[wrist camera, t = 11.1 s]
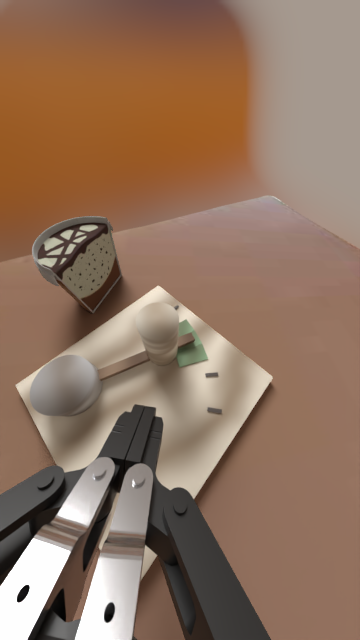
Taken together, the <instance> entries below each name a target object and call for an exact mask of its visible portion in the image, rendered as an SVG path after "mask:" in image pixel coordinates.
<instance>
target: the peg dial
mask: <svg viewBox="0 0 360 640" xmlns="http://www.w3.org/2000/svg"><path fill="white" fill-rule="evenodd" d="M136 326H137V329H138V332H139V334H140V337H141V339H142V342H143V345H144V347H145V350H146V351H143V352H141V353H138V354H136V355H133V356H131V357H128V358H126V359H124V360H121V361H119V362H116V363H114V364H111V365H109V366H106V367H104V368H101V369H98V368H97V367H96V366H94V365H93V364H92V363H90V362H89V361H87V360H86V359H85V358H83V357H81V356H78V355H65V356H61V357H58V358H56V359H54V360H52V361H51V362H49V363H48V364H46V365H45V366H44V367H43V368H42V369H41V370H40V371H39V372H38V374H37V375H36V377H35V378H34V380H33V382H32V385H31V388H30V402H31V404H32V407H33V408H34V409H35V410H36V411H37V412H38V413H40V414H43V415H47V416H67V417H69V416H75V415H78V414H81V413H82V412H84V411H86V410H87V409H88V408H90V407H91V406H92V405H93V404H94V402H95V401H96V400H97V398H98V397H99V395H100V392H101V390H102V384H103V380H106V379H108V378H110V377H113V376H115V375H117V374H120V373H122V372H124V371H127V370H129V369H131V368H134V367H136V366H139V365H141V364H143V363H146V362H148V361H150V360H151V362H153V363H154V364H156V365H160V366H163V365H168V364H170V363H171V362H172V361H174V359H175V358H176V356H177V350H178V349H179V348H181V347H183V346H186V345H188V344H190V343H193V342H194V341H195V338H194V337H193V335H192V333H191V332H190V333H188V334H185V335H183V336H180V337H178V333H179V315H178V313H177V311H176V310H175V309H174V308H173V307H172V306H171V305H169V304H166V303H162V302H155V303H151V304H148V305H146V306H145V307H143V308H142V309H141V310H140V311H139V313H138V314H137V317H136Z"/></svg>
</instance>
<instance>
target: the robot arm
mask: <svg viewBox="0 0 360 640" xmlns="http://www.w3.org/2000/svg"><path fill="white" fill-rule="evenodd" d="M163 426H164V424H163V420H162V417H157V416H156V408H155V407H149V406H144V405H137V404H135V405H134V406H133V408H132V411H131V412H127V411H125V412H124V413H123V414H121V415H120V416H119V417H118V419H117V421H116V423H115V426H114V427H113V429H112V431H111V432H110V434H109V436H108V438H107V440H106V442H105V443H104V445H103V447H102V449H101V451H100V453H99V455H98V456H97V458H96V459H95V460H94V461H93V462H91V463H90V464H89V465H88V466H87V467H85V468H83V469H80V470H75V471H70V472H64V470H63V468H62V467H60V466H50V467H47V468H45V469H43V470H41V471H39V472H38V473H36V474H34V475H33V476H31V477H29V478H28V479H26V480H24V481H23V482H21V483H19V484H18V485H16V486H14V487H13V488H11V489H9V490H8V491H6V492H4V493H2V494H1V495H0V585H1V584H2V583H3V582H4V583H3V584H2V586H1V587H0V640H137V639H136V638H135V637H134V628H135V620H136V613H137V605H138V597H139V589H140V581H141V573H142V566H143V558H144V550H145V545H146V546H147V547H148V548H149V549H151V550H152V551H153V552H154V553H155V554H156V555H158V556H159V560H160V563H161V566H162V569H163V572H164V575H165V579H166V582H167V585H168V588H169V591H170V594H171V597H172V600H173V603H174V606H175V609H176V613H177V616H178V619H179V622H180V625H181V628H182V631H183V634H184V637H185V640H271V639H270V637H269V635H268V633H267V631H266V630H265V628H264V626H263V624H262V622H261V621H260V619H259V617H258V615H257V613H256V611H255V610H254V608H253V606H252V604H251V602H250V601H249V599H248V597H247V595H246V593H245V592H244V590H243V588H242V586H241V584H240V582H239V581H238V579H237V577H236V575H235V573H234V572H233V570H232V568H231V566H230V564H229V563H228V561H227V559H226V557H225V555H224V553H223V552H222V550H221V548H220V546H219V544H218V543H217V541H216V539H215V537H214V535H213V534H212V532H211V530H210V528H209V526H208V524H207V523H206V521H205V519H204V517H203V515H202V514H201V512H200V510H199V508H198V506H197V505H196V503H195V501H194V499H193V497H192V496H191V494H190V493H189V492H188V491H187V490H186V489H184V488H181V487H176V488H173V489H172V490H169V489H168V488H166V487H165V486H163V485H162V484H161V483H160V482H159V481H158V479H157V477H156V468H157V463H158V458H159V452H160V447H161V442H162V434H163ZM117 493H120V495H119V498H118V502H117V505H116V509H115V513H114V516H113V520H112V523H111V527H110V530H109V534H108V537H107V539H106V540H105V542H104V544H103V547H102V549H101V553H100V556H99V559H98V563H97V566H96V570H95V573H94V577H93V580H92V584H91V587H90V590H89V594H88V597H87V601H86V604H85V608H84V611H83V615H82V618H81V619H78V620H75V621H73V618H74V616H75V613H76V610H77V608H78V605H79V602H80V599H81V595H82V592H83V588H84V584H85V580H86V577H87V574H88V572H89V569H90V567H91V564H92V562H93V559H94V557H95V554H96V552H97V549H98V547H99V544H100V542H101V539H102V537H103V534H104V532H105V530H106V527H107V525H108V522H109V520H110V517H111V515H112V512H113V502H114V499H115V497H116V494H117Z"/></svg>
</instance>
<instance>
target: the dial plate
mask: <svg viewBox="0 0 360 640" xmlns="http://www.w3.org/2000/svg"><path fill="white" fill-rule="evenodd" d="M155 302H162V303H166V304H169V305H171V306H172V307H173V308H174V309H175V310H176V311H177V313H178V315H179V333H178V337H180V336H183V335H185V334H188V333H190V332H191V333H192V335H193V337H194V338H195V341H194V342H193V343H190V344H188V345H186V346H183V347H181V348H179V349H178V350H177V356H176V358H175V359H174V361H172V362H171V363H170V364H168V365H163V366H160V365H156V364H154V363H153V362H151V360H150V361H148V362H146V363H143V364H141V365H139V366H136V367H134V368H131V369H129V370H127V371H124V372H122V373H120V374H117V375H115V376H113V377H110V378H108V379H106V380H103V384H102V390H101V392H100V395H99V397H98V398H97V400H96V401H95V402H94V404H93V405H92V406H91V407H90V408H88V409H87V410H86V411H84V412H82V413H81V414H78V415H75V416H69V417H67V416H47V415H43V414H40V413H38V412H37V411H36V410H35V409H34V408H33V407H32V404H31V402H30V388H31V385H32V382H33V380H34V378H35V377H36V375H37V374H38V372H39V371H40V370H41V369H42V368H43V367H44V366H45V365H46V364H45V365H44V366H42V367H41V368H40V369H38V370H37V371H35V372H34V373H32V374H31V375H30V376H28V377H27V378H25V379H24V380H22V381H21V382H20V383H18V384H17V385H16V387H17V389H18V391H19V393H20V395H21V397H22V399H23V401H24V403H25V405H26V407H27V409H28V411H29V413H30V415H31V416H32V418H33V420H34V422H35V424H36V426H37V428H38V430H39V432H40V434H41V436H42V438H43V440H44V442H45V444H46V446H47V447H48V449H49V451H50V453H51V455H52V457H53V459H54V461H55V463H56V465H57V466H60V467H62V468H63V470H64V472H70V471H75V470H80V469H83V468H85V467H87V466H88V465H89V464H90V463H91V462H93V461H94V460H95V459H96V458H97V456H98V455H99V453H100V451H101V449H102V447H103V445H104V443H105V442H106V440H107V438H108V436H109V434H110V432H111V431H112V429H113V427H114V426H115V423H116V421H117V419H118V417H119V416H120V415H121V414H123V413H124V412H125V411H127V412H131V411H132V408H133V406H134V405H135V404H137V405H144V406H149V407H155V408H156V416H157V417H162V420H163V424H164V426H163V434H162V442H161V447H160V452H159V458H158V463H157V468H156V477H157V479H158V481H159V482H160V483H161V484H162V485H163V486H165V487H166V488H168V489H169V490H172V489H173V488H176V487H181V488H184V489H186V490H187V491H188V492H189V493H190V494H191V496H192V497H193V499H194V498H195V497H196V495H197V494H198V492H199V490H200V489H201V487H202V486H203V484H204V483H205V481H206V480H207V478H208V477H209V475H210V474H211V472H212V471H213V469H214V467H215V466H216V464H217V463H218V461H219V460H220V458H221V457H222V455H223V454H224V452H225V451H226V449H227V447H228V446H229V444H230V443H231V441H232V440H233V438H234V437H235V435H236V434H237V432H238V431H239V429H240V428H241V426H242V424H243V423H244V421H245V420H246V418H247V417H248V415H249V414H250V412H251V411H252V409H253V408H254V406H255V404H256V403H257V401H258V400H259V398H260V397H261V395H262V394H263V392H264V391H265V389H266V388H267V386H268V385H269V383H270V381H271V380H272V378H273V377H272V376H271V375H270V374H268V373H267V372H266V371H265V370H263V369H262V368H261V367H260V366H258V365H257V364H256V363H255V362H253V361H252V360H251V359H250V358H248V357H247V356H246V355H245V354H243V353H242V352H241V351H240V350H238V349H237V348H236V347H235V346H233V345H232V344H231V343H230V342H228V341H227V340H226V339H225V338H223V337H222V336H221V335H220V334H218V333H217V332H216V331H215V330H213V329H212V328H211V327H210V326H208V325H207V324H206V323H205V322H203V321H202V320H201V319H200V318H198V317H197V316H196V315H195V314H193V313H192V312H191V311H190V310H188V309H187V308H186V307H185V306H183V305H182V304H181V303H180V302H178V301H177V300H176V299H175V298H173V297H172V296H171V295H170V294H168V293H167V292H166V291H165V290H163V289H162V288H161V287H160V286H157V287H156V288H154V289H153V290H151V291H150V292H149V293H147V294H146V295H144V296H143V297H141V298H140V299H138V300H137V301H136V302H134V303H133V304H131V305H130V306H128V307H127V308H126V309H124V310H123V311H121V312H120V313H118V314H117V315H116V316H114V317H113V318H111V319H110V320H108V321H107V322H106V323H104V324H103V325H101V326H100V327H98V328H97V329H96V330H94V331H93V332H91V333H90V334H88V335H87V336H85V337H84V338H83V339H81V340H80V341H78V342H77V343H75V344H74V345H73V346H71V347H70V348H68V349H67V350H65V351H64V352H63V353H61V354H60V355H58V356H57V357H55V358H54V359H56V358H58V357H61V356H65V355H78V356H81V357H83V358H85V359H86V360H87V361H89V362H90V363H92V364H93V365H94V366H96V367H97V368H98V369H101V368H104V367H106V366H109V365H111V364H114V363H116V362H119V361H121V360H124V359H126V358H128V357H131V356H133V355H136V354H138V353H141V352H143V351H146V350H145V347H144V345H143V342H142V339H141V337H140V334H139V332H138V329H137V326H136V317H137V314H138V313H139V311H140V310H141V309H142V308H143V307H145V306H146V305H148V304H151V303H155ZM54 359H53V360H54ZM51 361H52V360H51ZM51 361H50V362H51ZM48 363H49V362H48ZM48 363H47V364H48ZM119 495H120V493H117V494H116V497H115V499H114V502H113V512H112V515H111V517H110V520H109V522H108V525H107V527H106V530H105V532H104V534H103V537H102V539H101V542H100V544H99V548H100V550H101V549H102V547H103V544H104V542H105V540H106V539H107V537H108V534H109V530H110V527H111V523H112V520H113V516H114V513H115V509H116V505H117V502H118V498H119ZM156 557H157V555H156V554H155V553H154V552H153V551H152V550H151V549H149V548H148V547H147V546H146V545H145V550H144V558H143V566H142V573H141V580H142V578H143V576H144V575H145V573H146V572H147V570H148V569H149V567H150V566H151V564H152V563H153V561H154V560H155V558H156Z"/></svg>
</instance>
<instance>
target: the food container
mask: <svg viewBox="0 0 360 640" xmlns="http://www.w3.org/2000/svg"><path fill="white" fill-rule="evenodd" d="M111 230H112V231H113V228H112V226H111V224H110V222H109V221H108V220H107V218H105V217H97V216H86V217H78V218H73V219H69V220H66V221H62V222H60V223H58V224H55V225H53V226H51V227H50V228H49V229H47V230H45V231H44V232H43V233H42V234H40V236H39V237H38V238H37V239H36V241H35V242H34V245H33V248H32V253H33V257H34V262H35V264H36V265H37V267H38V269H39V271H40V273H41V274H42V276H43V277H44V278H45V279H46V280H47V281H48V282H50V283H52V284H54V285H56V286H59V285H60V286H61V287H62V288H63V289H65V290H66V291H67V292H68V293H69V294H70V295H71V296H72V297H73V298H74V299H75V300H76V301H77V302H78V303H79V304H80V305H81V306H82V307H83V308H84V309H85V310H87V311H88V312H91V313H94V312H95V310H96V309H97V308H98V306H99V305H100V304H101V302H102V301H103V300H104V298H105V297H106V296H107V294H108V293H109V292H110V290H111V289H112V288H113V286H114V285H115V284H116V282H117V281H118V280H119V278H120V277H121V276H122V273H121V269H120V265H119V261H118V258H117V254H116V250H115V246H114V242H113V238H112V234H111ZM58 284H59V285H58Z"/></svg>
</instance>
